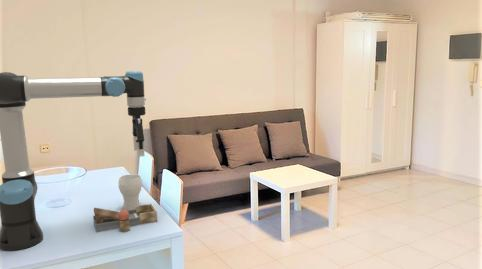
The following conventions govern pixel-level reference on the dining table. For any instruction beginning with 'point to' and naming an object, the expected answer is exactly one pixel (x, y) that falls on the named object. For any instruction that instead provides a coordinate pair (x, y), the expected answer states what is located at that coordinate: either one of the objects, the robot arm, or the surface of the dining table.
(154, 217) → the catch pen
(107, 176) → the dining table surface
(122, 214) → the ball
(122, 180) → the cup
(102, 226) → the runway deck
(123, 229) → the hollow wooden block
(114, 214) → the ramp
